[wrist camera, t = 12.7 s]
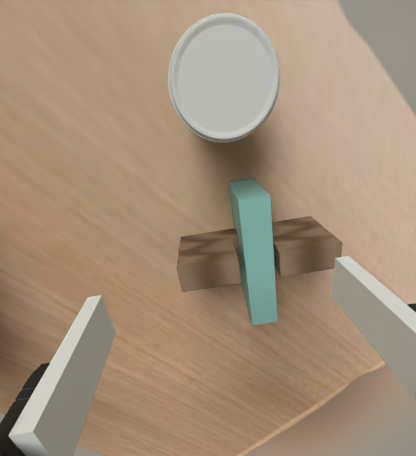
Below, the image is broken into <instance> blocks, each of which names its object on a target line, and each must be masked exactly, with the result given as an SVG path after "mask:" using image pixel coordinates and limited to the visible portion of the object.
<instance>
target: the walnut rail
mask: <svg viewBox="0 0 416 456" xmlns="http://www.w3.org/2000/svg"><path fill="white" fill-rule="evenodd" d="M272 233H273V250H274V265H275V267H276V269H277V271H278V273H279V274H280V276H281V277H282V276H289V275H295V274H301V273H308V272H314V271H321V270H327V269H333V268H334V266H335V258H339V257H341V253H342V242H341V241H340V240H339V239H337V238H336V237H335V236H334V235H333V234H331V233H330V232H329V231H328V230H326V229H325V228H324V227H323V226H322V225H320V224H319V223H318V222H317V221H316V220H314V219H313V218H312V217H311V216H309V217H303V218H296V219H290V220H284V221H278V222H272ZM240 263H241V255H240V246H239V238H238V234H237V232H236V229H228V230H222V231H216V232H210V233H204V234H197V235H191V236H185V237H181V241H180V248H179V256H178V263H177V272H178V276H179V280H180V284H181V288H182V292H186V291H193V290H199V289H206V288H212V287H218V286H225V285H231V284H238V283H241V277H240V270H239V264H240Z"/></svg>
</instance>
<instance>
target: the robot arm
mask: <svg viewBox="0 0 416 456" xmlns="http://www.w3.org/2000/svg"><path fill="white" fill-rule="evenodd" d="M332 298H333V299H334V300H335V302H336V303H337V304H338V305H339V306H340V308H341V309H342V310H343V311H344V313H345V314H346V315H347V316H348V317H349V319H350V320H351V321H352V322H353V324H354V325H355V326H356V327H357V329H358V330H359V331H360V332H361V333H362V335H363V336H364V337H365V338H366V340H367V341H368V342H369V343H370V344H371V346H372V347H373V348H374V349H375V351H376V352H377V353H378V354H379V356H380V357H381V358H382V359H383V360H384V362H385V363H386V364H387V365H388V367H389V368H390V369H391V370H392V371H393V373H394V374H395V375H396V376H397V378H399V380H400V381H401V382H402V384H403V385H404V386H405V387H406V389H407V390H408V391H409V392H410V394H411V395H412V396H413V397H414V398H415V400H416V304H415V303H414V304H408V305H406V304H405V303H404V302H403V301H402V300H400V299H399V298H398V297H397V296H396V295H394V294H393V293H392V292H391V291H390V290H389V289H387V288H386V287H385V286H384V285H383V284H381V283H380V282H379V281H378V280H377V279H375V278H374V277H373V276H372V275H371V274H369V273H368V272H367V271H366V270H365V269H364V268H362V267H361V266H360V265H359V264H358V263H356V262H355V261H354V260H353V259H352V258H350V257H349V256H345V257H339V258H335V266H334V280H333V294H332ZM115 333H116V331H115V329H114V326H113V323H112V321H111V318H110V315H109V313H108V310H107V308H106V305H105V302H104V300H103V297H102V295H100V296H93V297H88V298H87V300H86V302H85V303H84V305H83V307H82V309H81V310H80V312H79V314H78V316H77V317H76V319H75V321H74V322H73V324H72V326H71V328H70V329H69V331H68V333H67V335H66V336H65V338H64V340H63V342H62V343H61V345H60V347H59V349H58V350H57V352H56V354H55V355H54V357H53V359H52V361H51V362H50V363H46V364H41V365H40V366H39V367H38V368H37V369H36V370H35V371H34V372H33V374H32V375H31V376H30V377H29V379H28V380H27V382H26V383H25V385H24V387H23V388H22V391H20V393H19V395H18V396H17V398H16V401H15V402H14V403H13V404H12V406H11V407H10V409H9V411H8V412H7V414H6V415H5V417H4V418H3V420H2V422H1V423H0V456H73V454H74V451H75V448H76V445H77V443H78V440H79V437H80V434H81V431H82V428H83V425H84V422H85V420H86V417H87V414H88V411H89V408H90V405H91V402H92V400H93V397H94V394H95V391H96V388H97V385H98V382H99V379H100V377H101V374H102V371H103V368H104V365H105V362H106V359H107V356H108V354H109V351H110V348H111V345H112V342H113V339H114V336H115Z"/></svg>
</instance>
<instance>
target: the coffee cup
mask: <svg viewBox="0 0 416 456" xmlns="http://www.w3.org/2000/svg"><path fill="white" fill-rule="evenodd" d="M279 85H280V68H279V62H278V57H277V54H276V51H275V49H274V47H273V45H272V43H271V41H270V39H269V38H268V36H267V35H266V34H265V32H264V31H263V30H262V29H261V28H260V27H259V26H258V25H257V24H255V23H254V22H252V21H251V20H249V19H247V18H245V17H243V16H240V15H237V14H231V13H220V14H214V15H210V16H208V17H205V18H203V19H201V20H199V21H198V22H196V23H195V24H193V25H192V26H191V27H190V28H189V29H188V30H187V31H186V32H185V33H184V34H183V35H182V37H181V38H180V40H179V41H178V43H177V45H176V47H175V49H174V51H173V54H172V57H171V60H170V64H169V70H168V88H169V94H170V98H171V102H172V105H173V107H174V109H175V111H176V113H177V115H178V117H179V118H180V120H181V121H182V122H183V123H184V125H185V126H186V127H187V128H188V129H189V130H190V131H192V132H193V133H194V134H196V135H197V136H199V137H201V138H203V139H206V140H209V141H213V142H220V143H226V142H233V141H237V140H240V139H242V138H244V137H246V136H248V135H250V134H251V133H253V132H254V131H255V130H257V129H258V128H259V127H260V126H261V125H262V124H263V123H264V121H265V120H266V119H267V117H268V116H269V114H270V113H271V111H272V109H273V107H274V105H275V102H276V99H277V96H278V92H279Z"/></svg>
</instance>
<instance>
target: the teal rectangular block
mask: <svg viewBox="0 0 416 456" xmlns="http://www.w3.org/2000/svg"><path fill="white" fill-rule="evenodd" d="M229 190H230V198H231V206H232V214H233V222H234V226H235V229H236V232H237V234H238V238H239V246H240V255H241V263H240V264H239V270H240V277H241V286H242V289H243V293H244V297H245V300H246V304H247V308H248V311H249V315H250V319H251V322H252V326H253V325H260V324H266V323H273V322H278V317H277V300H276V284H275V267H274V250H273V233H272V217H271V200H270V195H269V194H268V193H267V192H266V191H265V190H264V189H263V188H262V187H261V186H260V185H259V184H258V183H257V182H256V181H255V180H254V179H253V178H252V179H246V180H240V181H234V182H229Z"/></svg>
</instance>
